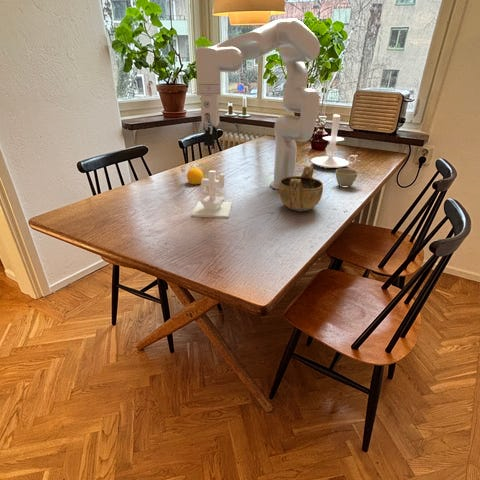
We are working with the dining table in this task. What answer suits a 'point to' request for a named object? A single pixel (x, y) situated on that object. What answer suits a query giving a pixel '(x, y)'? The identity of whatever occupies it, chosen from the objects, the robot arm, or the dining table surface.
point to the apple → (195, 176)
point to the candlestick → (333, 149)
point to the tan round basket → (301, 191)
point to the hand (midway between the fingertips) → (210, 142)
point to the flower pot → (346, 176)
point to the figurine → (212, 191)
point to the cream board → (220, 213)
